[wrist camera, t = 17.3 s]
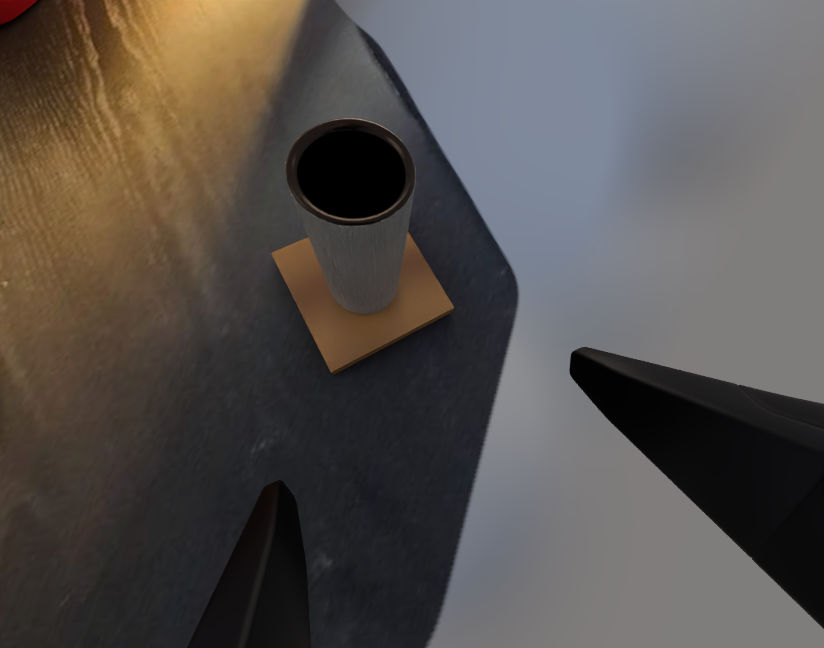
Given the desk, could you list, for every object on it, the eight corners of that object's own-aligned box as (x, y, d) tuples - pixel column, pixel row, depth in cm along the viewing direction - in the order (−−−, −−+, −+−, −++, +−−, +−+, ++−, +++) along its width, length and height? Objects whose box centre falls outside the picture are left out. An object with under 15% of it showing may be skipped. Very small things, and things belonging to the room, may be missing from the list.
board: (450, 313, 22) (454, 307, 21) (333, 375, 20) (331, 372, 19) (390, 212, 24) (390, 202, 23) (276, 261, 22) (270, 252, 21)
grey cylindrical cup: (403, 310, 21) (427, 219, 11) (333, 319, 20) (288, 231, 10) (393, 248, 22) (405, 113, 12) (326, 255, 21) (279, 117, 11)
